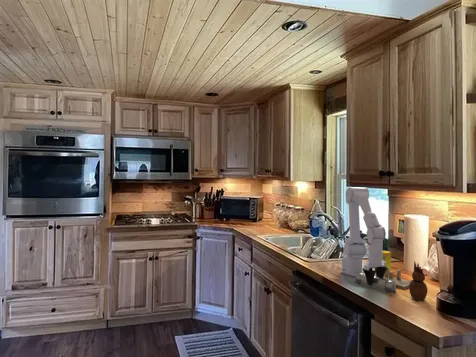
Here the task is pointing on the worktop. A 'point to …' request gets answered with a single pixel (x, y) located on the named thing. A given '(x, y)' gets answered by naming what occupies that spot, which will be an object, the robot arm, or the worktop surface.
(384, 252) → the supplement box
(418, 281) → the wooden figurine
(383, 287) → the grey long bar
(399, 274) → the rack
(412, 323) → the worktop surface
